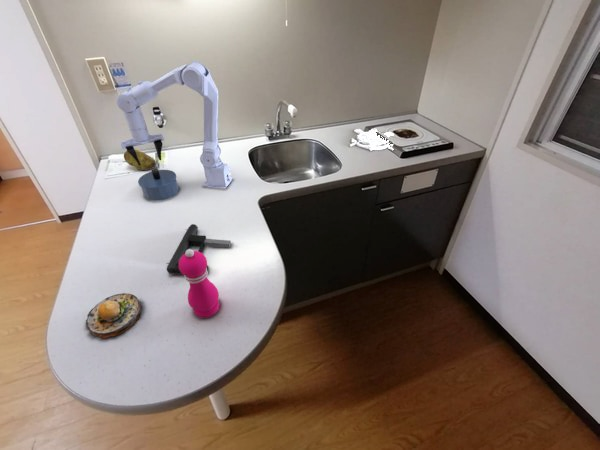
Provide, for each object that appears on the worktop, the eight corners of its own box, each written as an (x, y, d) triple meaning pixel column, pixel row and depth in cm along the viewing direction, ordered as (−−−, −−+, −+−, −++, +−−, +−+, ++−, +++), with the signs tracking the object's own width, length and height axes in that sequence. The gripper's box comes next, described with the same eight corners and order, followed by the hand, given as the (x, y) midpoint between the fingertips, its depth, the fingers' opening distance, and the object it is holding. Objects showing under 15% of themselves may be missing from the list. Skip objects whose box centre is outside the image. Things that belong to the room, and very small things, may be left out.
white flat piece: (348, 148, 151) (348, 146, 150) (354, 128, 172) (355, 125, 171) (393, 153, 146) (393, 150, 146) (393, 131, 168) (394, 129, 167)
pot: (184, 186, 124) (181, 173, 120) (168, 203, 114) (163, 189, 110) (156, 183, 126) (152, 169, 122) (138, 199, 116) (132, 186, 112)
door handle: (234, 226, 99) (185, 222, 99) (218, 272, 84) (159, 268, 84) (235, 234, 101) (187, 230, 101) (219, 280, 86) (162, 276, 86)
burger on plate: (147, 295, 81) (137, 276, 76) (133, 335, 71) (121, 316, 67) (99, 300, 80) (86, 280, 75) (79, 341, 70) (63, 322, 66)
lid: (183, 173, 121) (180, 163, 118) (164, 191, 110) (161, 180, 108) (152, 170, 123) (148, 160, 120) (131, 188, 113) (126, 177, 110)
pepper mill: (195, 297, 80) (175, 240, 68) (223, 295, 81) (208, 238, 68) (189, 321, 74) (167, 263, 62) (219, 318, 75) (203, 261, 62)
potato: (144, 175, 131) (137, 158, 126) (124, 168, 136) (118, 151, 131) (159, 167, 137) (154, 150, 132) (140, 160, 142) (134, 144, 137)
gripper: (117, 135, 104) (131, 170, 112) (161, 126, 110) (171, 160, 119) (114, 128, 109) (128, 163, 117) (156, 120, 115) (166, 154, 123)
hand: (149, 161), depth 118 cm, fingers open, 7 cm apart
